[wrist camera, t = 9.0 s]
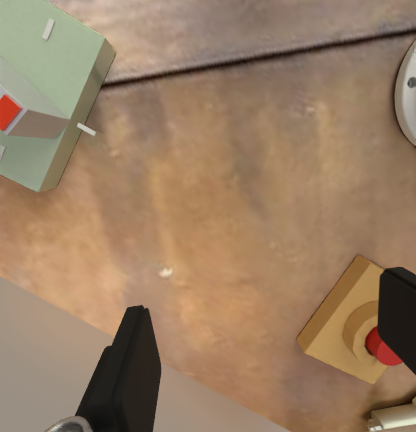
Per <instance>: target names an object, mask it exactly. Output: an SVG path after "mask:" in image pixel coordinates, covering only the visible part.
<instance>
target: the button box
mask: <svg viewBox="0 0 416 432" xmlns="http://www.w3.org/2000/svg"><path fill="white" fill-rule="evenodd" d="M383 271H384V269H383V268H381V267H379V266H378V265H376V264H374V263H372V262H371V261H369V260H367V259H365V258H364V257H362V256H360V255H357V257H356V258H355V259H354V261H353V262H352V263H351V265H350V266H349V267H348V269H347V270H346V272H345V273H344V274H343V276H342V277H341V278H340V280H339V281H338V283H337V284H336V285H335V287H334V288H333V289H332V291H331V292H330V293H329V295H328V296H327V298H326V299H325V300H324V302H323V303H322V304H321V306H320V307H319V309H318V310H317V311H316V313H315V314H314V315H313V317H312V318H311V319H310V321H309V322H308V324H307V325H306V326H305V328H304V329H303V330H302V332H301V333H300V335H299V336H298V337H297V341H298V343H299V345H300V347H301V348H302V350H303V352H304V353H305V354H307V355H309V356H312V357H314V358H316V359H318V360H320V361H322V362H325V363H327V364H329V365H331V366H333V367H336V368H338V369H340V370H342V371H344V372H346V373H349V374H351V375H353V376H355V377H357V378H359V379H362V380H364V381H366V382H368V383H370V384H372V385H373V384H374V383H375V382H376V381H377V380H378V378H379V377H380V376H381V375H382V374H383V372H384V371H385V370H386V369H387V368H388V365H384V364H382V363H381V362H380V361H379V360H378V359H377V358H376V357H375V356H374V355H373V354H372V353H371V351H370V350H369V349H368V348H367V346H366V343H365V339H366V336H367V335H368V333H369V332H370V331H371V329H372V328H374V327H376V326H377V321H378V300H379V279H380V275H381V274H382V273H383Z"/></svg>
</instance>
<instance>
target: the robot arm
mask: <svg viewBox="0 0 416 432" xmlns="http://www.w3.org/2000/svg"><path fill="white" fill-rule="evenodd" d="M395 111H396V115H397V119H398V122H399V125H400V127H401V129H402V131H403V133H404V134H405V136H406V137H407V138H408V139H409V141H410V142H411V143H413V144H414V145H415V146H416V40H415V41H414V43H413V44H412V46H411V47H410V49H409V50H408V52H407V54H406V56H405V58H404V60H403V62H402V65H401V67H400V70H399V74H398V77H397V81H396V88H395ZM377 332H378V335H379V337H380V338H381V340H382V341H383V342H384V343H385V344H386V345H387V346H388V347H389V348H390V349H391V350H392V351H393V352H394V353H395V354H396V355H397V356H398V357H399V358H400V359H401V360H402V361H403V362H404V363H405V364H406V365H407V366H408V367H409V368H410V369H411V370H412V372H413V373H414V374H415V375H416V275H415V274H413V273H412V272H410V271H408V270H407V269H405V268H403V267H395V268H388V269H385V270H384V271H383V273H382V274H381V275H380V279H379V300H378V321H377ZM160 378H161V362H160V357H159V353H158V348H157V344H156V339H155V335H154V330H153V326H152V322H151V317H150V313H149V309H148V308H145V309H144V307H143V306H142V305H140V306H133V307H128V308H127V309H126V312H125V314H124V317H123V319H122V322H121V324H120V326H119V329H118V331H117V334H116V336H115V338H114V341H113V343H112V346H107V347H106V348H105V349H104V351H103V353H102V355H101V358H100V360H99V362H98V364H97V367H96V369H95V371H94V373H93V376H92V378H91V380H90V382H89V385H88V387H87V389H86V391H85V394H84V396H83V398H82V401H81V403H80V405H79V407H78V410H77V412H76V414H75V416H72V417H68V418H65V419H62V420H60V421H58V422H57V423H55V424H53V425H52V426H51V427H50V428H48V429H47V430H46V431H45V432H153V426H154V419H155V412H156V405H157V398H158V391H159V384H160ZM369 432H416V424H413V425H407V426H401V427H394V428H388V429H382V430H375V431H369Z"/></svg>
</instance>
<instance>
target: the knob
mask: <svg viewBox="0 0 416 432" xmlns="http://www.w3.org/2000/svg"><path fill="white" fill-rule="evenodd" d="M70 121H71V120H70V119H69V118H68V117H67V116H66V115H65V114H64V113H63V112H62V111H60V110H59V109H58V108H57V107H56V106H55V105H54V104H53V103H52V102H51V101H50V100H48V99H47V98H46V97H45V96H44V95H43V94H42V93H41V92H40V91H39V90H37V89H36V88H35V87H34V86H33V85H32V84H31V83H30V82H29V81H28V80H26V79H25V78H24V77H23V76H22V75H21V74H20V73H19V72H18V71H17V70H16V69H14V68H13V67H12V66H11V65H10V64H9V63H8V62H7V61H6V60H5V59H3V58H2V57H1V56H0V130H1V131H2V132H3V133H4V134H5V135H8V136H21V137H34V138H47V139H55V138H56V137H57V136H58V135H59V134H60V133H61V131H62V130H63V129H64V128H65V127H66V126H67V124H68V123H69V122H70Z"/></svg>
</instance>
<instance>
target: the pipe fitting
mask: <svg viewBox="0 0 416 432" xmlns="http://www.w3.org/2000/svg"><path fill="white" fill-rule="evenodd" d="M412 401H413V402H412V403H411V404H406V405H401V406H395V407H390V408H385V409H379V410H374V411H371V418H372V419H370V420H369V424H368V425H367V428H368V430H369V431H375V430H382V429H388V428H394V427H401V426H407V425H413V424H416V397H415V398H414V399H413V400H412Z"/></svg>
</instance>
